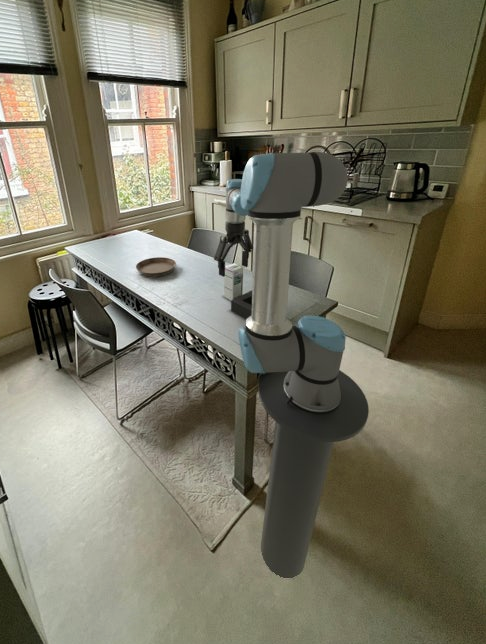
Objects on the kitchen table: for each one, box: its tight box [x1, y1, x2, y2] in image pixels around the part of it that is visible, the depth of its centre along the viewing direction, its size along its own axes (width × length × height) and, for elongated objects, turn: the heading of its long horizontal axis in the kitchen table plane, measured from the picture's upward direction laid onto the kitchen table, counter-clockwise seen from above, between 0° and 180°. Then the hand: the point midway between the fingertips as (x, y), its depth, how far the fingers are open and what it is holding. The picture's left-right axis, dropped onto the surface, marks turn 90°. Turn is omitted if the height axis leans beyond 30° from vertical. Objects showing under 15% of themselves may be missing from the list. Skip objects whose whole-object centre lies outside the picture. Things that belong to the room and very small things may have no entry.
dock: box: [230, 290, 252, 320], centre depth 124 cm, size 13×13×5 cm
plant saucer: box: [135, 256, 177, 277], centre depth 163 cm, size 21×21×3 cm
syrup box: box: [223, 262, 244, 301], centre depth 133 cm, size 6×6×14 cm
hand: (233, 270), depth 131 cm, fingers open, 13 cm apart
